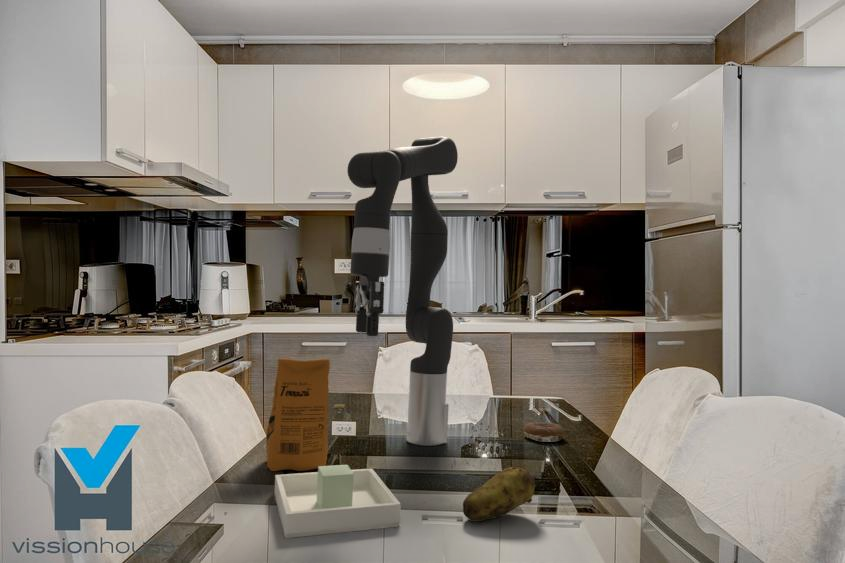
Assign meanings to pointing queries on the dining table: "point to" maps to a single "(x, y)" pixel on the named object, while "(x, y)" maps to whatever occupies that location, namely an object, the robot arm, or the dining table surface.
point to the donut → (543, 430)
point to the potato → (500, 494)
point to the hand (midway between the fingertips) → (366, 334)
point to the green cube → (334, 486)
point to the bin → (306, 519)
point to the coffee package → (299, 416)
